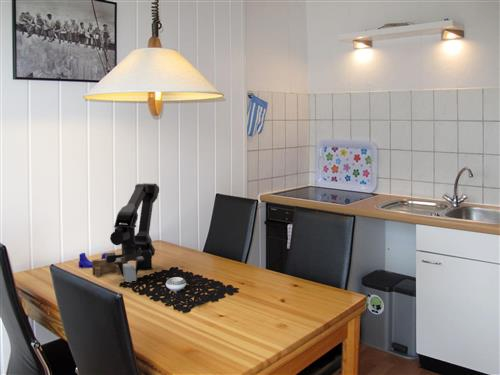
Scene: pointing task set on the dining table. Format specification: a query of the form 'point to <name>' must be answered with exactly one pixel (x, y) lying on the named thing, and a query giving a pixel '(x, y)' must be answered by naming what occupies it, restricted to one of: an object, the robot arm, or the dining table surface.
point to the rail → (129, 272)
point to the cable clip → (87, 261)
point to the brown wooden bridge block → (105, 267)
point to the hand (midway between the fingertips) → (129, 275)
